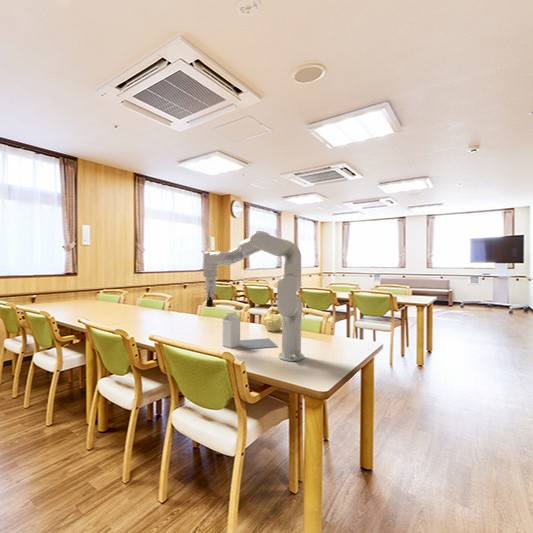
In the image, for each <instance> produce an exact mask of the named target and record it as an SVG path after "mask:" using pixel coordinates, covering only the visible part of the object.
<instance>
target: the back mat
mask: <svg viewBox="0 0 533 533" xmlns="http://www.w3.org/2000/svg"><path fill="white" fill-rule="evenodd" d="M239 347H241V349H242V350H257V349H270V348H278V345H277V344H276V343H275V342H274V341H273V340H272V339H270V337H269V338H253V339H240V346H239Z"/></svg>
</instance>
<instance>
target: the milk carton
mask: <svg viewBox="0 0 533 533" xmlns="http://www.w3.org/2000/svg"><path fill="white" fill-rule="evenodd" d="M240 340H241V319H240V317H239V315H238V313H237V311H234V312H227V313H226V316H224V318H223V319H222V346H223V347H227V348H229V349H232V348H235V347H241V346H240Z"/></svg>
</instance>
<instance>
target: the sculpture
mask: <svg viewBox="0 0 533 533" xmlns="http://www.w3.org/2000/svg"><path fill="white" fill-rule="evenodd" d="M263 326H264V327H265V329H266V330H267V331H268V332H271V333H272V332H273V333H274V332H278V331H280V330H281V329H282V320H281V318H280V317H279V316H277V315H268V316H265V317H264V319H263Z"/></svg>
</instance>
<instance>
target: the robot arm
mask: <svg viewBox="0 0 533 533" xmlns="http://www.w3.org/2000/svg"><path fill="white" fill-rule="evenodd" d="M261 251H262V252H265V253H267V254H270V255H272V256H277V257H284V266H283V267H284V268H283V269H284V270H283V271H284V273H283V275H282V276H281V277H280V278H279V279H278V282H277V287H276V288H277V289H276V290H277V291H276V308H277V312H278V313H279V315H280V316H282V320H281V331H282V332H281V338H282V339H281V341H282V342H281V352H280V353H278V357H279V359H280V360H282V361H288V362H299V361H302V360H304V358H305V354H303V353H302V317H303V315H302V314H303V301H302V299H301V298H300V297H299V296H298V295H297V292H298V291H299V290H300V289H301V286H302V254H301V250H300V248H299V247H298V245H296V243H294V242H292V241H289V240H288V239H283V238H278V237H276V236H273V235H271V234H269V232H267V231H261V230H256V231H254V232H252V233H251V235H250V237H248V238H246V239H243V240H241V241H240V243H239V245H238V246H237V247H236V248H233V249H231V250H229V251H205V252H204V253H203V277H205V280H204V282H205V293H206V307H207V308H212V307H213V306H214V296H213V295H216V294H217V292H216V287H217V285H216V283H217V282H216V278H217V277H218V266H230V265H234V264H235V263H238V262H240V261H242V260H244V259H246V258H247V257H249V256H252V255H253V254H255V253H258V252H261Z"/></svg>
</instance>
